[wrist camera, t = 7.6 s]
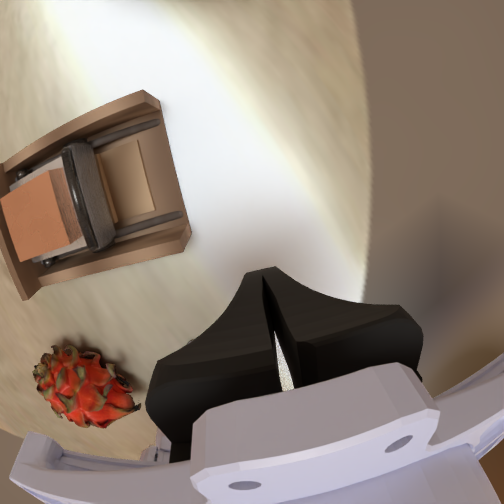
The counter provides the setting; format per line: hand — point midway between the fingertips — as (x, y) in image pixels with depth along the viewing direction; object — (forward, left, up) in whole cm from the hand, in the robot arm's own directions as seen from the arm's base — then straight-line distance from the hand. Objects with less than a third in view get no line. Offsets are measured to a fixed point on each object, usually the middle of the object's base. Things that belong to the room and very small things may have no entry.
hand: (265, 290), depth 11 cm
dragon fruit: (-21, +6, -10) cm, 24 cm away
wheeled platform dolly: (-5, +13, -8) cm, 16 cm away
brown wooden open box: (-3, +11, -9) cm, 15 cm away
